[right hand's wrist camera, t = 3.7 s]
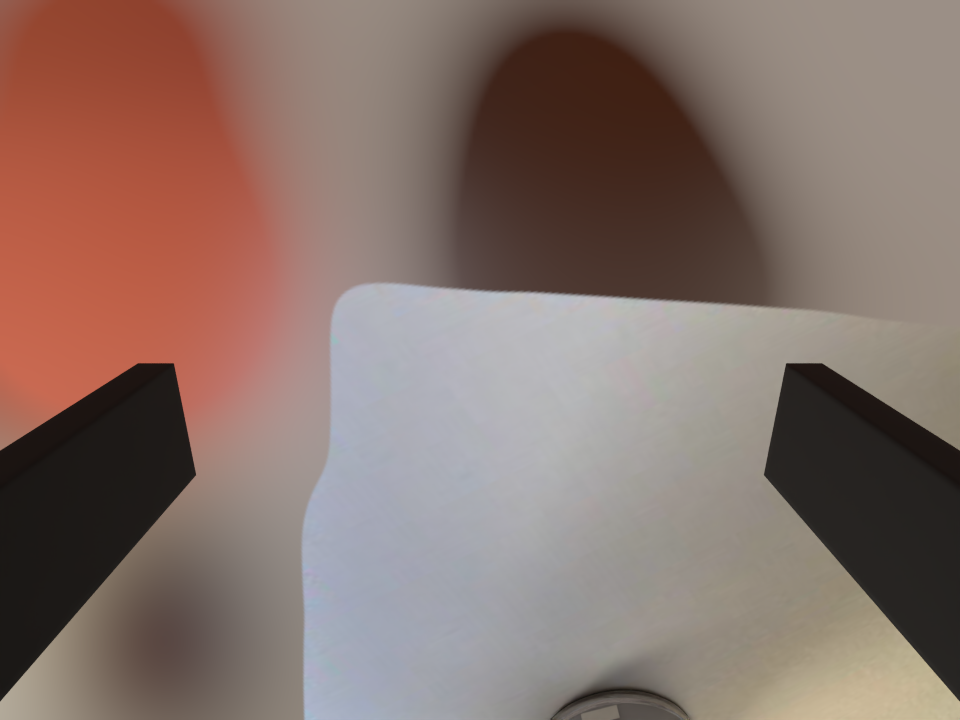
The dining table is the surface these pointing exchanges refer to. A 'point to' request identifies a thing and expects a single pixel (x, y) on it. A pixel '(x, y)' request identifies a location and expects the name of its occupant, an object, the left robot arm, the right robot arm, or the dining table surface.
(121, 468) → the right robot arm
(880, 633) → the dining table surface
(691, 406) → the dining table surface
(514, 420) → the dining table surface
